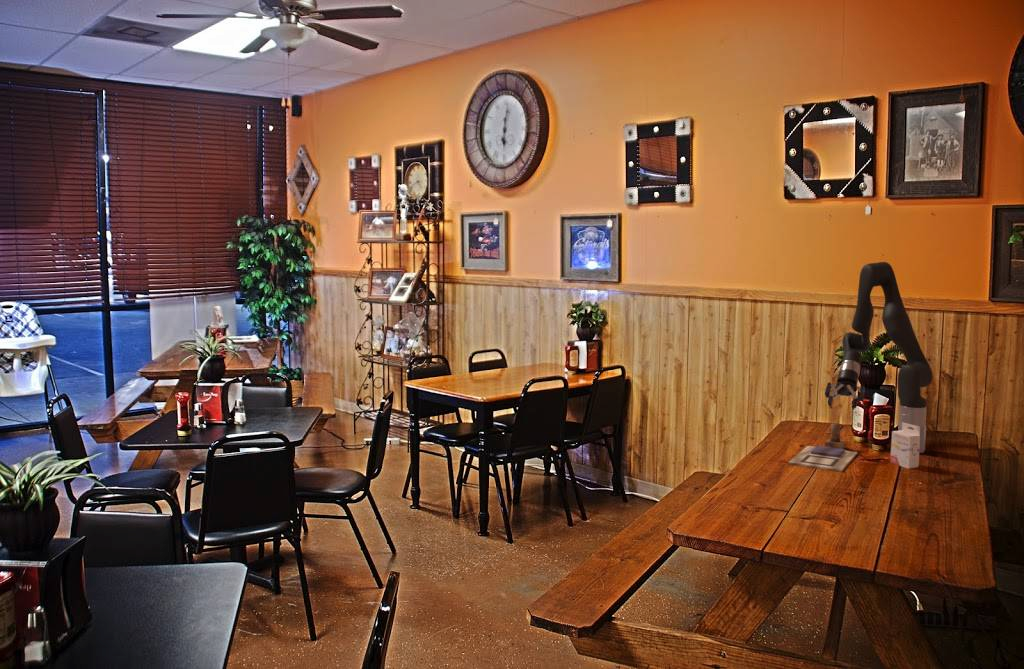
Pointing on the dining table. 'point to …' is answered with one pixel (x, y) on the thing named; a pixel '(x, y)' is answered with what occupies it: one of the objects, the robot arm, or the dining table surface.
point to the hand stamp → (835, 437)
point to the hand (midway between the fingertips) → (841, 407)
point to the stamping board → (823, 458)
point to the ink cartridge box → (906, 446)
